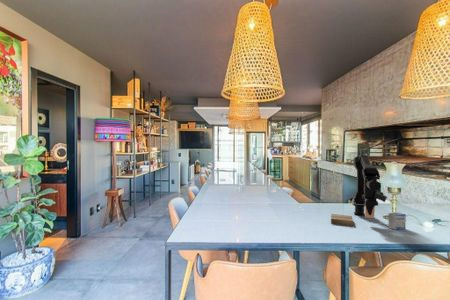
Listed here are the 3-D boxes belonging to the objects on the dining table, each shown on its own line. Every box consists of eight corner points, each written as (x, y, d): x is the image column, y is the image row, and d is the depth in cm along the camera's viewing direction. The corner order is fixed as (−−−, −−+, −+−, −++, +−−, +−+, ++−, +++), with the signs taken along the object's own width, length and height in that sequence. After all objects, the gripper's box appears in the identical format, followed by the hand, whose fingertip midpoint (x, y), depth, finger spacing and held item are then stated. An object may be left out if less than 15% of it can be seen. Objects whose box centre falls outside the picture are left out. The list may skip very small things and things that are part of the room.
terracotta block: (364, 215, 148) (364, 203, 148) (373, 216, 147) (373, 204, 147) (365, 217, 144) (365, 205, 144) (374, 218, 143) (374, 206, 142)
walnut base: (331, 218, 160) (331, 213, 160) (351, 220, 155) (351, 216, 155) (331, 223, 149) (331, 218, 149) (353, 226, 144) (353, 221, 144)
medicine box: (395, 230, 138) (395, 215, 138) (388, 227, 142) (388, 212, 142) (405, 229, 140) (406, 214, 140) (398, 226, 144) (398, 212, 144)
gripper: (389, 191, 133) (388, 219, 134) (382, 186, 151) (382, 211, 151) (365, 190, 138) (365, 217, 138) (362, 185, 155) (361, 209, 155)
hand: (369, 214), depth 145 cm, fingers closed on terracotta block, 4 cm apart
